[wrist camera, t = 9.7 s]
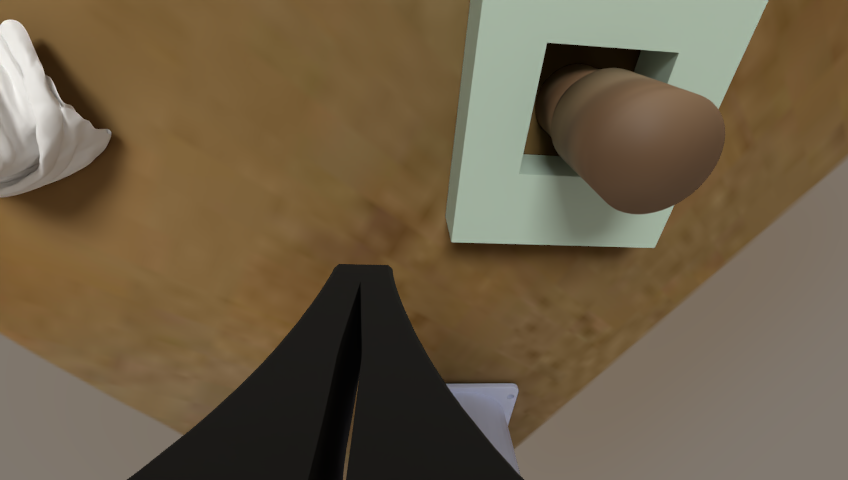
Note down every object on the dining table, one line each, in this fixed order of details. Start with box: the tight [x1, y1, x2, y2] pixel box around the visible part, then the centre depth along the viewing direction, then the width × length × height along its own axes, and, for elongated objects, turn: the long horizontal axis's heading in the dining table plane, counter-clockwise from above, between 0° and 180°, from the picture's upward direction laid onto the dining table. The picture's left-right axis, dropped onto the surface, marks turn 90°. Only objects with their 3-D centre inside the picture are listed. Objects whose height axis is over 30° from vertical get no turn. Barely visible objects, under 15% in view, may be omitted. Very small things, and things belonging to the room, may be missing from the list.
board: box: [446, 0, 768, 248], centre depth 17 cm, size 12×10×2 cm
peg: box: [535, 64, 725, 214], centre depth 15 cm, size 4×4×7 cm
